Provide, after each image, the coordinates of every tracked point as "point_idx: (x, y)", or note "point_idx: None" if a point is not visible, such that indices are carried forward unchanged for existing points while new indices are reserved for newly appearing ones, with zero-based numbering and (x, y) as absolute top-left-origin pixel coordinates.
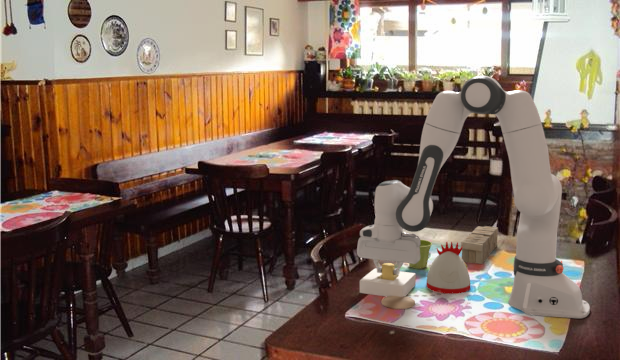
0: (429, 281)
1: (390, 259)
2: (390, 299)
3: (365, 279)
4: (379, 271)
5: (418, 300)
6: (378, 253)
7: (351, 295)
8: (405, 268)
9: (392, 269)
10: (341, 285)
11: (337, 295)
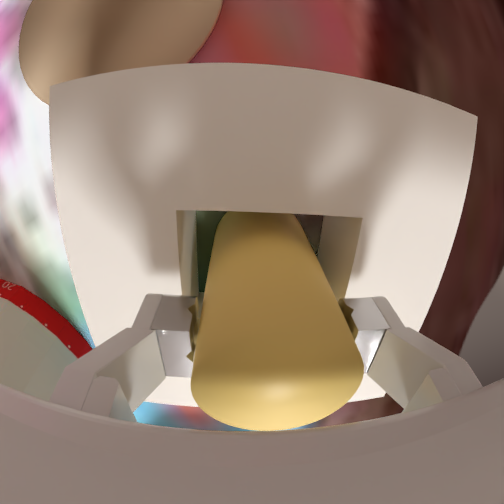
0: (43, 341)
1: (209, 457)
2: (161, 3)
3: (447, 155)
4: (363, 303)
5: (23, 122)
6: (490, 485)
7: (444, 57)
8: None
9: (201, 330)
10: (500, 211)
11: (493, 56)
